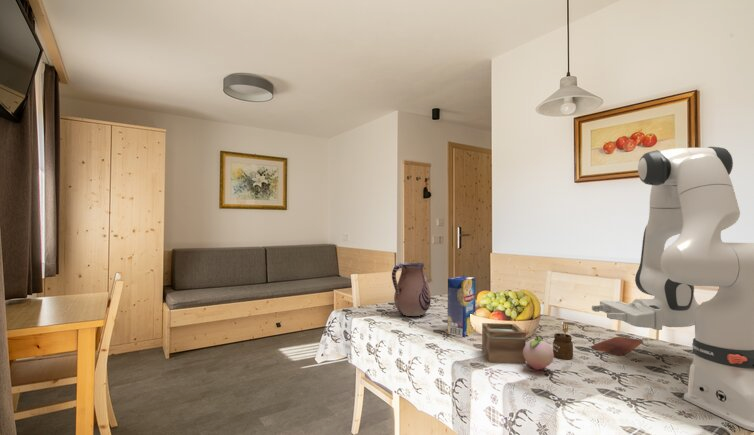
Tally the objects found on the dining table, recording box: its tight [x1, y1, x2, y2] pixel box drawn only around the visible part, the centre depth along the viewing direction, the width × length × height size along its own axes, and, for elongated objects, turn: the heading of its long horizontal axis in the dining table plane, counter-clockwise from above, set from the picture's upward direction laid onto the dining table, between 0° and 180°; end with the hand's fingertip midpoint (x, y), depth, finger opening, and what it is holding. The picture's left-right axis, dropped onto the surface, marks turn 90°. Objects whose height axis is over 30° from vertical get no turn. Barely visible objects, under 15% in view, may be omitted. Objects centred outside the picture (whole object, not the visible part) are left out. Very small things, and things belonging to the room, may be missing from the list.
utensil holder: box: [552, 321, 574, 360], centre depth 123 cm, size 6×6×12 cm
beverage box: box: [447, 275, 476, 338], centre depth 150 cm, size 7×11×22 cm, turn 141°
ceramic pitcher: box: [391, 261, 432, 317], centre depth 179 cm, size 18×21×25 cm
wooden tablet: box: [591, 336, 643, 357], centre depth 136 cm, size 27×10×2 cm, turn 129°
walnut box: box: [481, 322, 527, 364], centre depth 122 cm, size 11×11×10 cm
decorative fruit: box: [523, 335, 555, 371], centre depth 111 cm, size 9×8×10 cm
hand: (600, 312), depth 123 cm, fingers open, 8 cm apart
